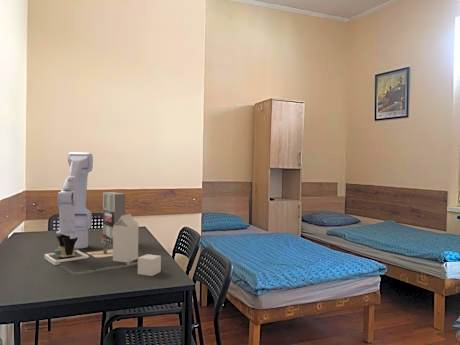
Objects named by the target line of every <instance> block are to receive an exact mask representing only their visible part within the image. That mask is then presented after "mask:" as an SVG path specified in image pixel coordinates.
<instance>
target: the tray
mask: <svg viewBox="0 0 460 345" xmlns="http://www.w3.org/2000/svg"><path fill="white" fill-rule="evenodd" d="M75 253H77V254H79V255H80V256H75V257H69V258H63V259H62V258H61V259H55V258H53V257H52V256H55V255H54V252H51V253H45V254H44V259H43V260H46V261H48V262H49V263H50V264H51V265H53V266H60V265H61V266H62V263H64V262H70V261H71V262H72V261H77V260H78V261H79V260H83V259H89V258H90V256H89V254H87V253H84V252H82V251H80V250H79V249H75Z"/></svg>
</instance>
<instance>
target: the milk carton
mask: <svg viewBox="0 0 460 345" xmlns="http://www.w3.org/2000/svg"><path fill="white" fill-rule="evenodd" d="M112 249H113V256H112V261H113V262H119V263H123V265H131V264H133V263H134V261H135V260H138V258H139V223H138V222H137V221H136V220H135V219H134V217H132V213H128V214H125V215H123V216H121V218H120V219H119V220H118V222H117V223H116V224H114V225H113V245H112Z"/></svg>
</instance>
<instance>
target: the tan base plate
mask: <svg viewBox="0 0 460 345" xmlns="http://www.w3.org/2000/svg"><path fill="white" fill-rule="evenodd" d="M85 254H87V255H90V256H92V257H94V258H95V259H100V258H101V259H102V258H106V257H113V248H110V249H109V248H108V243H107V242H104V243H103V249H101V250H94V251H88V252H85Z"/></svg>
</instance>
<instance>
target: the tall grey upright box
mask: <svg viewBox="0 0 460 345" xmlns="http://www.w3.org/2000/svg"><path fill="white" fill-rule="evenodd" d="M102 197H103V198H102V233H101V241H100V242H101V244H104V242H107V245H108V244H109V245H111V246H113V225H114V224H116V223H117V222H118V220H119V219H120V218H121V216H123V215H126V193H123V192H122V193H121V192H116V191H108V192H107V191H105V192H103V193H102Z"/></svg>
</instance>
